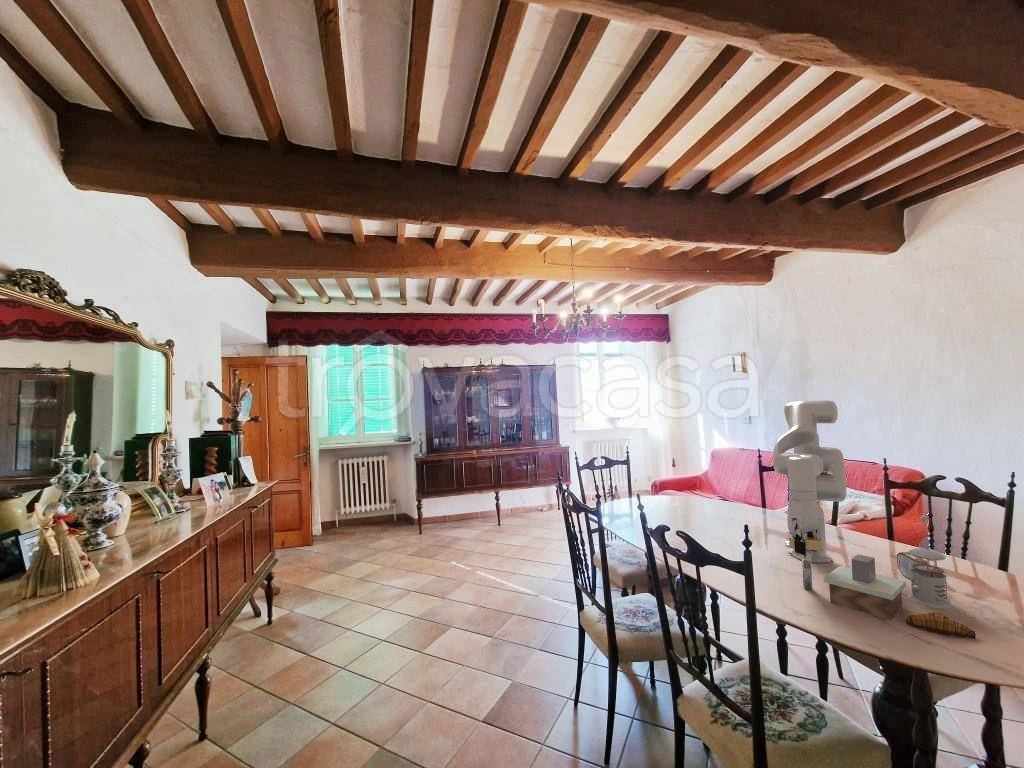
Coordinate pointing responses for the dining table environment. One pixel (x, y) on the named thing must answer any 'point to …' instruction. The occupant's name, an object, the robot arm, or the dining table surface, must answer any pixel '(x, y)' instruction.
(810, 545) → the key
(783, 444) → the robot arm
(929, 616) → the croissant
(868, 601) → the housing
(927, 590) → the french press
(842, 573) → the cover
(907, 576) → the tin
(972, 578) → the dining table surface
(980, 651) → the dining table surface
